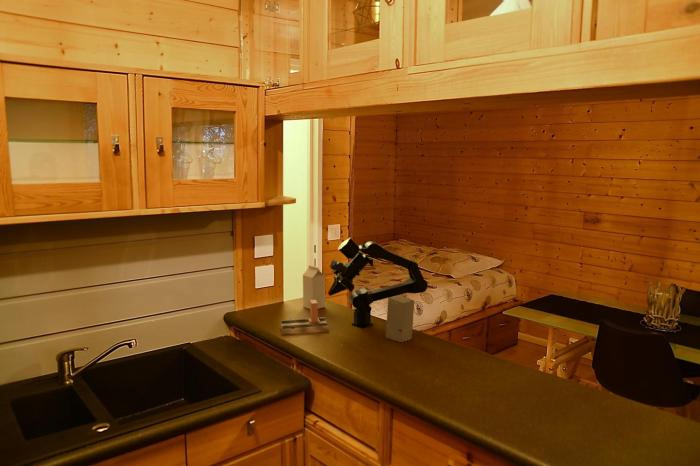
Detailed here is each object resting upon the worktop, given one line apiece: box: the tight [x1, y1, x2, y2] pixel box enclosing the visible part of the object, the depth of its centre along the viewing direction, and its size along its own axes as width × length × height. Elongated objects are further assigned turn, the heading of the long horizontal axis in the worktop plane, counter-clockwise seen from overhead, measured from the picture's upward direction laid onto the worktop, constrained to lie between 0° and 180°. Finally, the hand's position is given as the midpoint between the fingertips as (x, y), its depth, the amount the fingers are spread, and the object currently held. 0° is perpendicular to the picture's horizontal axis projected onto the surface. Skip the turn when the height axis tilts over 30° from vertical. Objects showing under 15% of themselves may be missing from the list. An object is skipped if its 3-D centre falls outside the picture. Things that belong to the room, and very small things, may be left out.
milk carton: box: [302, 265, 326, 310], centre depth 243 cm, size 7×7×19 cm
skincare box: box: [385, 295, 415, 343], centre depth 204 cm, size 8×7×16 cm
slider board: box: [280, 317, 329, 335], centre depth 216 cm, size 18×10×3 cm, turn 101°
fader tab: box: [308, 300, 320, 323], centre depth 216 cm, size 4×5×9 cm
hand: (328, 294), depth 216 cm, fingers closed
